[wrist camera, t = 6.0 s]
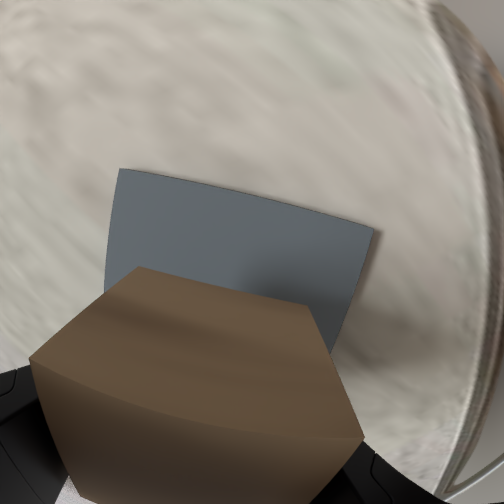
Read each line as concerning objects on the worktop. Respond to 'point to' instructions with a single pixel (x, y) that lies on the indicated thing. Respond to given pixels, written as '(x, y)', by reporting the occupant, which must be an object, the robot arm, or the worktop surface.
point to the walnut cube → (194, 397)
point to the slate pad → (236, 244)
